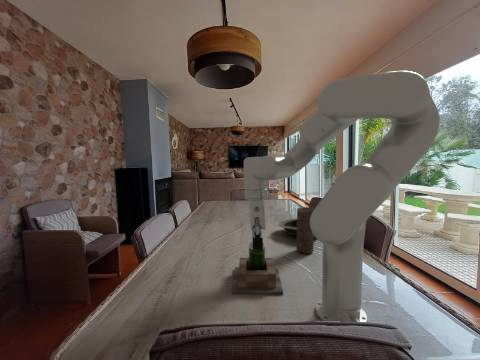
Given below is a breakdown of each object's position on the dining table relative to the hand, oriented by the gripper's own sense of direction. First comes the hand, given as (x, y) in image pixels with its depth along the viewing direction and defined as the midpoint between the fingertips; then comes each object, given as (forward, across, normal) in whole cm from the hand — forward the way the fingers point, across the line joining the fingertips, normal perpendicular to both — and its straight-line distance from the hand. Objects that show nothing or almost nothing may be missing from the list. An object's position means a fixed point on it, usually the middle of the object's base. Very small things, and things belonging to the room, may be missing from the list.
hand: (257, 244), depth 78 cm
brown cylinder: (+13, +26, -21) cm, 36 cm away
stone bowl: (+13, +48, -24) cm, 56 cm away
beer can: (+12, 0, 0) cm, 12 cm away
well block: (+13, 0, +1) cm, 13 cm away
